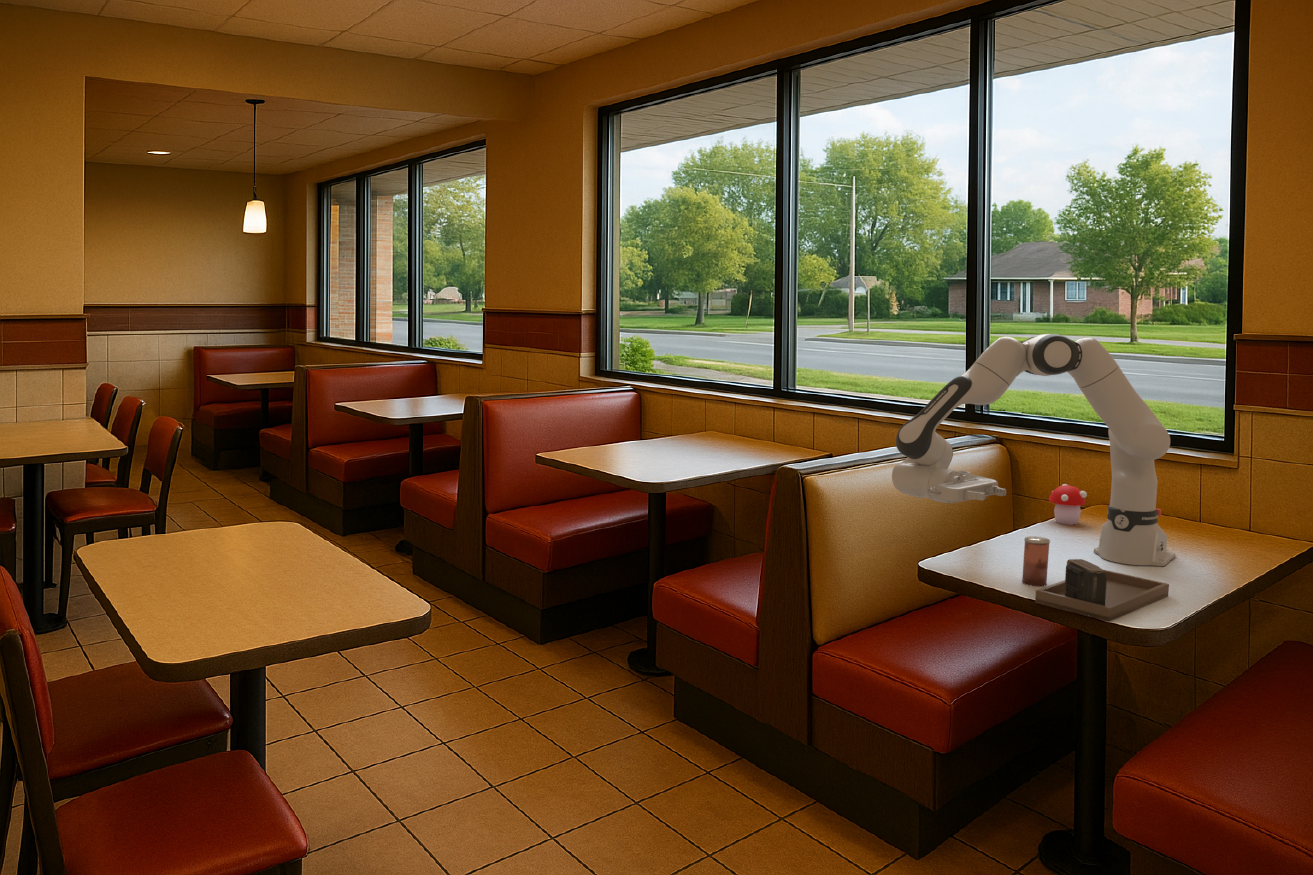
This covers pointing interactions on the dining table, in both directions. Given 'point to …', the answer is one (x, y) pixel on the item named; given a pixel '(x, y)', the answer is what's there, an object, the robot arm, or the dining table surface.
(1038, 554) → the tin
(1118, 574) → the tray
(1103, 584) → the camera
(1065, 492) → the mushroom
